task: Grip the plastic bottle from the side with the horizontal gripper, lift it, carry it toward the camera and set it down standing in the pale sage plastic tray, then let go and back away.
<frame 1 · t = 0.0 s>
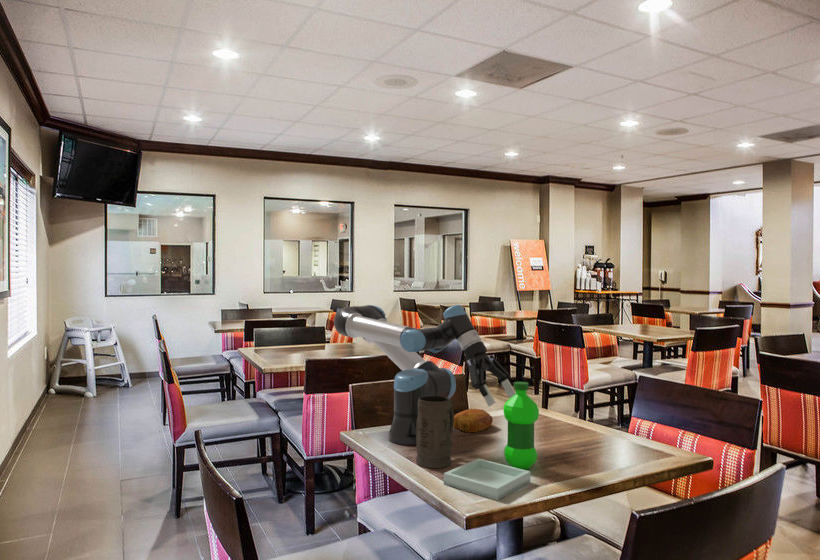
hand: (503, 401, 190), 15 cm above the table, tool tilted 35°, fingers open, 13 cm apart
tray: (487, 483, 157), on the table
beer stein: (437, 461, 176), on the table
plastic bottle: (520, 467, 171), on the table
bread loaf: (471, 428, 215), on the table
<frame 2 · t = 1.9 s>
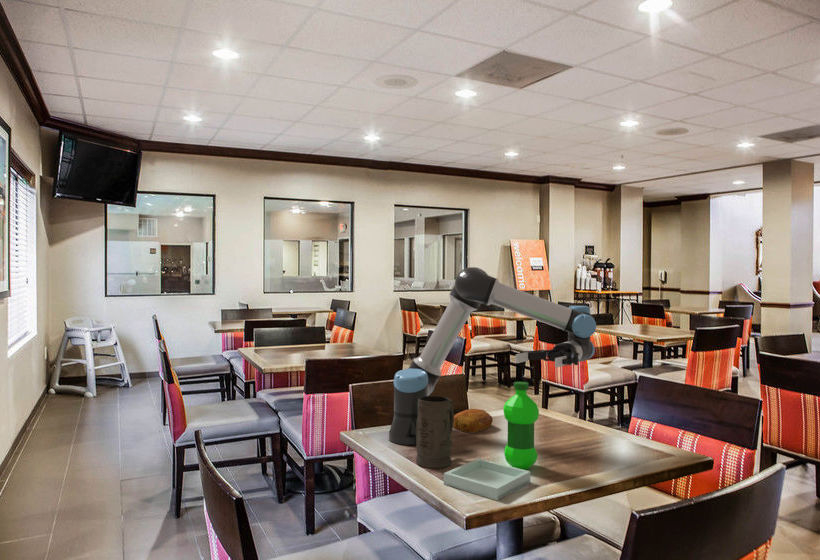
hand: (535, 360, 178), 31 cm above the table, tool horizontal, fingers open, 13 cm apart
nothing on the table moved.
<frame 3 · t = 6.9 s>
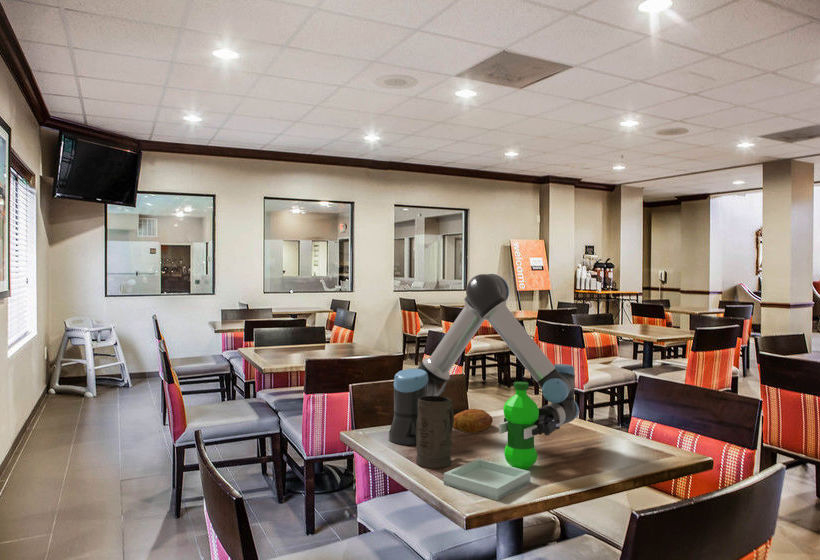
hand: (512, 431, 167), 12 cm above the table, tool horizontal, fingers closed on plastic bottle, 8 cm apart
plastic bottle: (520, 467, 171), on the table, touching gripper
everything else where it was.
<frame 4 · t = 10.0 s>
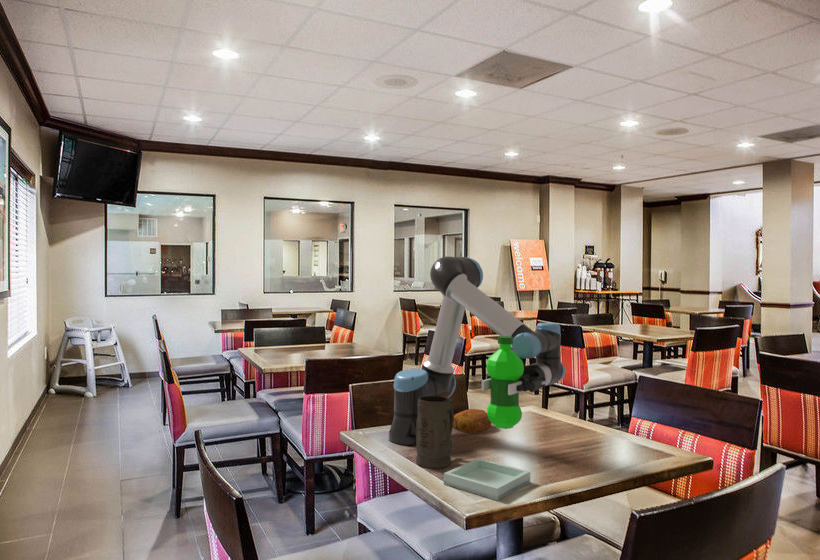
hand: (495, 387, 157), 26 cm above the table, tool horizontal, fingers closed on plastic bottle, 8 cm apart
plastic bottle: (504, 426, 161), point 14 cm above the table, touching gripper
everything else where it was.
when the fingers open (14 cm above the table, at t = 13.2 s): plastic bottle drops 1 cm, resting on tray.
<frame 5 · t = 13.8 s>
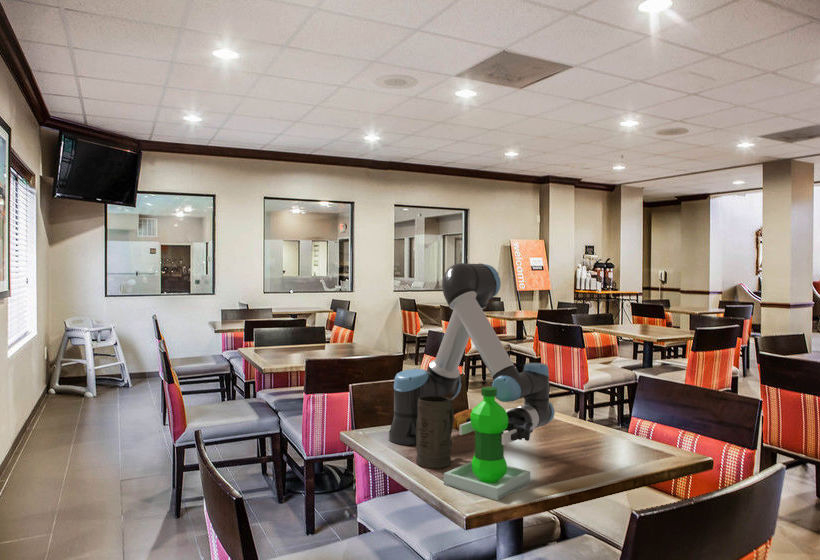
hand: (480, 434, 154), 14 cm above the table, tool horizontal, fingers open, 13 cm apart
plastic bottle: (489, 480, 157), point 1 cm above the table, touching tray
everything else where it was.
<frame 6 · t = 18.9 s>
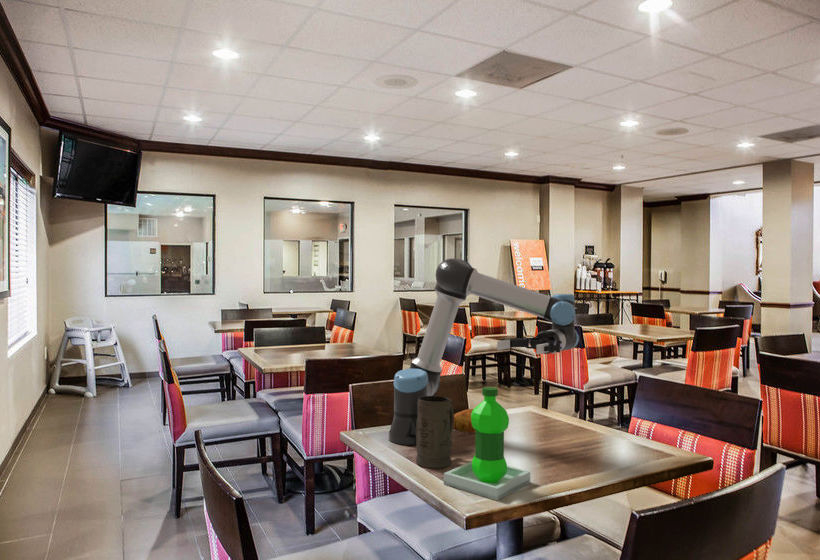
hand: (517, 347, 174), 35 cm above the table, tool horizontal, fingers open, 13 cm apart
nothing on the table moved.
at the end: plastic bottle inside the target area on the tray (0.5 cm from its centre), point 0.8 cm above the tray's base; plastic bottle tilted 0°; the gripper is holding nothing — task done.
